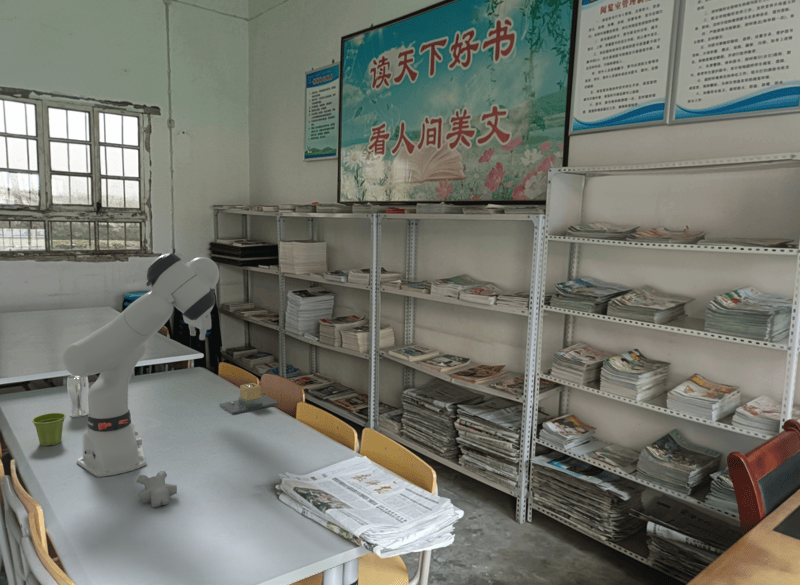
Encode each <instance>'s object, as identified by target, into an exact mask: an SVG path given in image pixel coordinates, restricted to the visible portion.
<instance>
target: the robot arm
mask: <svg viewBox="0 0 800 585" xmlns="http://www.w3.org/2000/svg"><path fill="white" fill-rule="evenodd" d="M146 279H147V282H146V283H145V285H146V287H149V286H151V289H149V291H147V292H146V293H145V294H143V295H141V296H139V297H138V298H137V299H135V300H133V302H131V303H130V304H129V305H128V306H127V307H126V308H125V309H124V310H123V311H121V313H120V314H118V315H117V316H116V317H115V318H114V319H113V320H111V321H110V322H108V323H107V324H105V325H104V326H102V327H100V328H98V329H96V330H95V331H93V332H91V334H88V335H87V336H85V337H83V338H82V339H80V340H78V341H75V342H74V343H71V344H69V345H68V346H67V347H66V348H65V350H63V355H62V362H63V367H64V369H65V370H66V371H67V372H68V373H70V375H75V376H86V375H87V376H94V375H96V374H99V375H98V377H97V379H96V381H95V382H94V383H93V384H91V386H89V391H88V398H87V408H88V412H89V413H88V414H87V415H86V417H87V419H86V423H87V427H88V428H87V430H86V431H85V432H84V434H83V435H82V456H80V457H78V458H77V459H76V464H78V465H79V466H80V467H82V468H83V469H85V470H86V471H87V472H89V473H91V474H92V475H94V476H95V477H101V478H102V477H109V476H116V475H120V474H123V473H128V472H131V471H135V470H137V469H140V468H142V467H144V466H145V465H147V461H146V460H147V459H146V456H145V452H144V447H143V440H142V437H141V438H137V437H136V436H138V435H139V431H138V430H136V431H135V424H133V423H132V418H131V417H132V416H131V412H130V409H129V385H130V382H131V377H132V374H133V372H134V370H135V367H136V366H137V364H138V363H139V362H140V360H141V359H142V358H143V357H144V356H145V353H146V343H147V342H148V341H149V340H150V339H151V338H152V337H153V336H155V335H156V334H157V333H158V332H159V331H160V330H161V329H162V327H164V325H165V324H166V323H167V322H168V321H169V319H171V316H172V314H173V312H174V308H176V309H177V311H180V312H181V313H182V318H183V321H184V323H185V324H188V329H189V334H190V336H192V337H195V336H196V335H197V334H196V333H197V331H196V329H199V336H198V339H199V340H200V341H205V340H206V334H207V331H208V330H211V329H212V315H211V312H212V310H213V308H214V306H215V305H216V296H215V292H216V290H215V287H216V285H217V284H218V282H219V279H220V269H219V267H218V264H217V263H216V262H215V261H214V260H212V259H211V258H209V257H206V256H198V257H195V258H193V259H192V260H190V261H188V262H186V263H185V262H184V261H182V258H181V257H179V256H178V255H177V254H175V253H172V252H168V253H165V254H162V255H160V256H158V257H156V258H155V259H154V260H153V261H152V262H151V264H150V265H149V267H148V269H147V271H146Z"/></svg>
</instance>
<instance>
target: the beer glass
mask: <svg viewBox="0 0 800 585" xmlns="http://www.w3.org/2000/svg"><path fill="white" fill-rule="evenodd" d="M88 378H89V377H88V375H86V376H75V375H72V374H70V375H68V376H67V382H66V383H67V384H66V388H67V389H66V390H67V395H68V399H69V402H70V414H69V416H70V417H72V418H81V417H85V416H88V414H89V407H88V391H89V389H90V386H89V385H90V384H89V379H88Z"/></svg>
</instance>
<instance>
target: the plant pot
mask: <svg viewBox="0 0 800 585" xmlns="http://www.w3.org/2000/svg"><path fill="white" fill-rule="evenodd" d="M65 419H66V414H65V413H63V412H52V413H44V414H41V415H38V416H35V417H34V418H32V420H31V421H32V422H31V423H33V425H34V427H35V429H36V430H35V431H36V434H37V437H38V442H39V444H40V446H44V447H47V446H48V447H49V446H50V445H53V446H54V445H57V444H59V443H61V442H62V439H63V438H62V437H63V429H64V428H63V427H64V421H65Z"/></svg>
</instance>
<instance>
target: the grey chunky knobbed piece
mask: <svg viewBox="0 0 800 585" xmlns="http://www.w3.org/2000/svg"><path fill="white" fill-rule="evenodd" d="M167 476H168V475H167V472H166V471H165V470H159V471H158V472H157V473H156V475H155V476H150V477H148V476H147V475H145V474H141V475H138V476H137V479H136V483H138V484H141V485H143V486H144V490H143V491H141V492H139V493H138V502H139V503H150V507H151V508H157V507H160V506H166V505H169V504H170V497H172V496H175V495H177V494H178V492H177V491H178V485H176V484H169V483H166V478H167Z"/></svg>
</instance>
